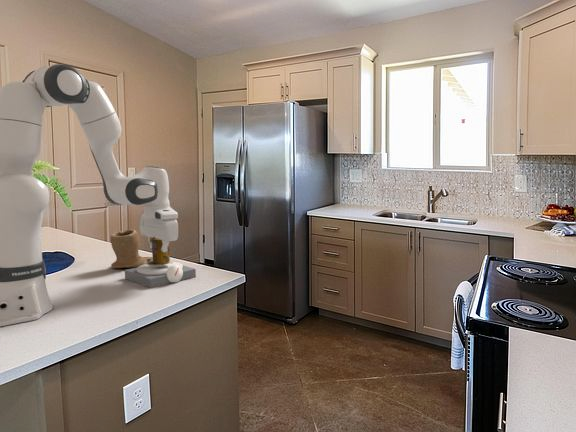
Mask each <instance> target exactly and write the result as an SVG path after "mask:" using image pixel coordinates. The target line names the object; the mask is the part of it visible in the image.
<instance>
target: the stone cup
mask: <svg viewBox="0 0 576 432" xmlns="http://www.w3.org/2000/svg"><path fill="white" fill-rule="evenodd" d="M109 241H110V244H111V248H112V250H113V253H114V254H115V256H116V260H114V261H113V262H112V263H111V267H112V268H114V269H125V268H126V269H127V268H128V269H131V268H137V267H139V266H141V265H144V264H146V263H145V262H147V261H153V256H141V255H140V254H139V253H140V252H139V249H140V236H139V233H138V232H137V230H135V229H126V230H124V231H123V230H120V231H119V230H118V231H115V232H114V233H112V234H111V235H110V240H109Z"/></svg>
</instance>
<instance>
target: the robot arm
mask: <svg viewBox="0 0 576 432" xmlns="http://www.w3.org/2000/svg"><path fill="white" fill-rule="evenodd" d="M62 106H67V107H68V108H70V109H71V110H72V111H73V112H74V113H75V115H76V117H77V120H78V122H79V124H80V125H81V127H82V130H83V132H84V134H85V137H86V138H87V142H88V145H89V150H90V152H91V154H92V158H93V159H94V161H95V164H96V167H97V169H98V171H99V174H100V176H101V179H102V185H103V193H104V196H105V198H106V199H107V201H108V202H109V203H111V204H112V205H116V206H123V205H124V206H125V205H126V206H141V205H143V212H142V214H141V217H140V219H139V234H140V235H141V236H143V237H147V241H148V243H149V249H150V250H152V238H154V237H155V238H156V239H160V240H162V243H163V245H162V247H161V252H167V251H168V248H167V247H168V245H169V246H170V242H174V241H177V240H178V239H179V223H178V221H177V220H178V218H179V214H178V212H177V211H176V210H174V209H173V208H172V207H171V205H170V204H171V203H170V199H169V193H170V183H169V176H168V171H166V169H164V168H163V167H159V166H151V165H150V166H148V165H147V166H145V167H144V168H143V169H142V170H140V171H139V172H138V173H136V174H133V175H132V176H125V174H123V173H122V172H121V171H120V168H119V165H118V163H117V161H116V158H115V155H114V151H113V150H114V149H113V148H114V145H115V143H117V142H118V140H119V139H120V137H121V134H122V124H121V122H120V119H119V117H118V113H117V112H116V110H115V108H114V106H113V104H112V102H111V99H109V97H108V95H107V94H106V92H105V91H104V90H103V88H102V86H101V85H100V84H99V83H97V82H95V81H93V80H87V79H86V78H85V77H84V76H83V75H82V73H81V72H80V71H79V70H78V69H76V68H75V67H73V66H71V65H68V64H63V63H57V64H53V65H45V66H43V67H40V68H37V69H35V70H33V71H31V72H29V73H28V74H27V75H26V76H25V77H24V79H23V80H22V81H10V82H7V83H5V84H3V85H2V87H1V88H0V327H4V326H9V325H10V326H11V325H14V324H15V325H16V324H19V323H24V322H25V323H26V322H31V321H36V320H38V319H40V318H41V317H43V316H44V315H45V314H47V313H49V312H50V311H51V310H52V309H53V308H54V307H53V306H54V305H53V303H52V300H51V299H50V298H51V297H50V296H49V292H48V288H47V284H46V278H47V269H46V264H45V260H44V259H43V249H42V237H41V236H42V235H41V233H42V224H43V218H44V214H45V213H44V212H45V209H46V207H47V205H48V204H49V202H50V191H49V188H48V187H47V185H46V184H45V183H44V182H43V181H41V179H40V180H39V179H38V178H36V177H34V176H32V174H33V169H34V166H35V164H36V162H37V160H38V159H39V158H40V155H41V143H42V131H43V130H42V129H43V115H44V112H45V110H46V108H50V107H62ZM153 236H154V237H153Z"/></svg>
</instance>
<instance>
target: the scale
mask: <svg viewBox="0 0 576 432" xmlns="http://www.w3.org/2000/svg"><path fill="white" fill-rule="evenodd" d="M172 262H173V263H172V264H165V265H155V266H149V265H147V264H144V265H141V266H139V267H131V268H128V269H127V268H126V269H124V278H125V279H127V280H129V281H132V282H134V283H137V284H139V285H143V286H144V287H147V288H149V289H152V288H157V287H160V286H161V287H162V286H164V285H168V284H172V283H177V282H181V281H185V280H189V278H190V279H193V277H194V278H196V277H197V274H196V273H197V272H196V271H197V270H196V268H194V267H190V266H187V265H184V264H182V263H181V262H178V261H172Z"/></svg>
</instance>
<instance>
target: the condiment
mask: <svg viewBox="0 0 576 432" xmlns="http://www.w3.org/2000/svg"><path fill="white" fill-rule="evenodd" d="M153 237H154V236H153ZM162 245H163V243H162V240H160V239H156V238H155V237H154V238H152V249H151V250H152V251H151V253H152V256H151V257H153V261H147V262H145V263H146V264H147V265H149V266H155V265H165V264H172V263H173V262H174V261H171V258H170V257H171V253H170V251H171V249H170V244H169V245H168V247H167V248H168V251H167V252H161V247H162Z"/></svg>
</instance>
